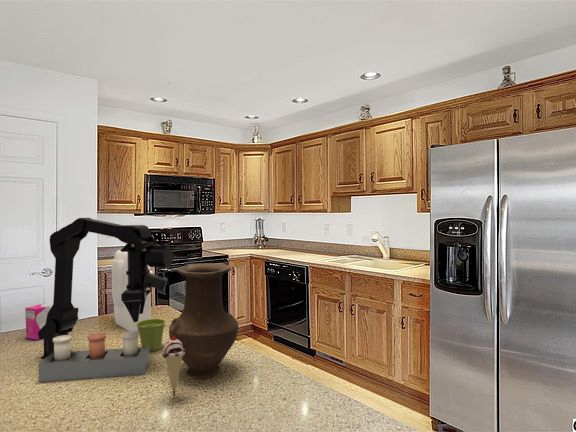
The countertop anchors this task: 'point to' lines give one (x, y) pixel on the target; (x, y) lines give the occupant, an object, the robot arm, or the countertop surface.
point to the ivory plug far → (130, 343)
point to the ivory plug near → (62, 347)
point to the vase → (204, 320)
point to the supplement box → (35, 320)
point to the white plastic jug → (119, 287)
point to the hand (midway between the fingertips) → (138, 317)
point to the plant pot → (151, 333)
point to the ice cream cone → (173, 359)
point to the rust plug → (97, 345)
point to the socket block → (94, 365)
